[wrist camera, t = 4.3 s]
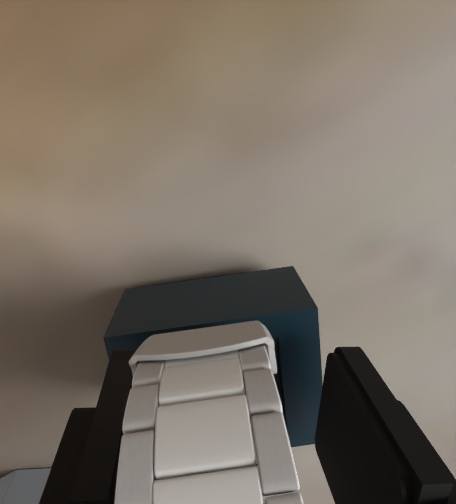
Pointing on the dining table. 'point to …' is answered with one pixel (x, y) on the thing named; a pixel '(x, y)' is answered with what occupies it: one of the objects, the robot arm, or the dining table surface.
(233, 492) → the watch
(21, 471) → the dish
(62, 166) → the dining table surface
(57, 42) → the dining table surface
